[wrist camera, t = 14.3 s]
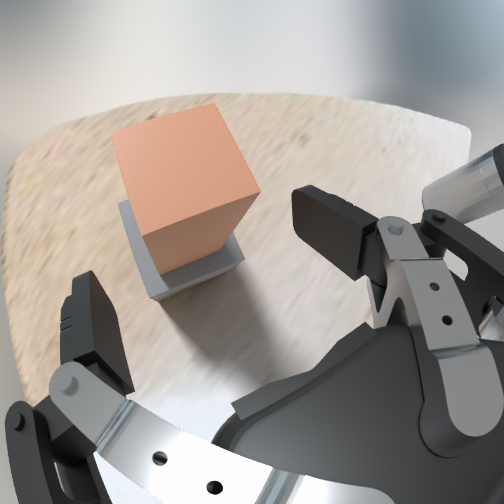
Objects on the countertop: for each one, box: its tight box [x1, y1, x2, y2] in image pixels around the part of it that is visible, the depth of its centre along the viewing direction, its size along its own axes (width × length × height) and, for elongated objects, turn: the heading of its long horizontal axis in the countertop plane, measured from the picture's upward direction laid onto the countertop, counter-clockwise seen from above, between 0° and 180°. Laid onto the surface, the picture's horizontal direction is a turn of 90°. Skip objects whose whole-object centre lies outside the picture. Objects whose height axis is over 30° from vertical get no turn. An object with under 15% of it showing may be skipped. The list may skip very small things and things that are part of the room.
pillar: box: [110, 104, 261, 276], centre depth 16 cm, size 5×5×11 cm
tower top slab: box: [118, 199, 245, 300], centre depth 23 cm, size 8×8×4 cm
